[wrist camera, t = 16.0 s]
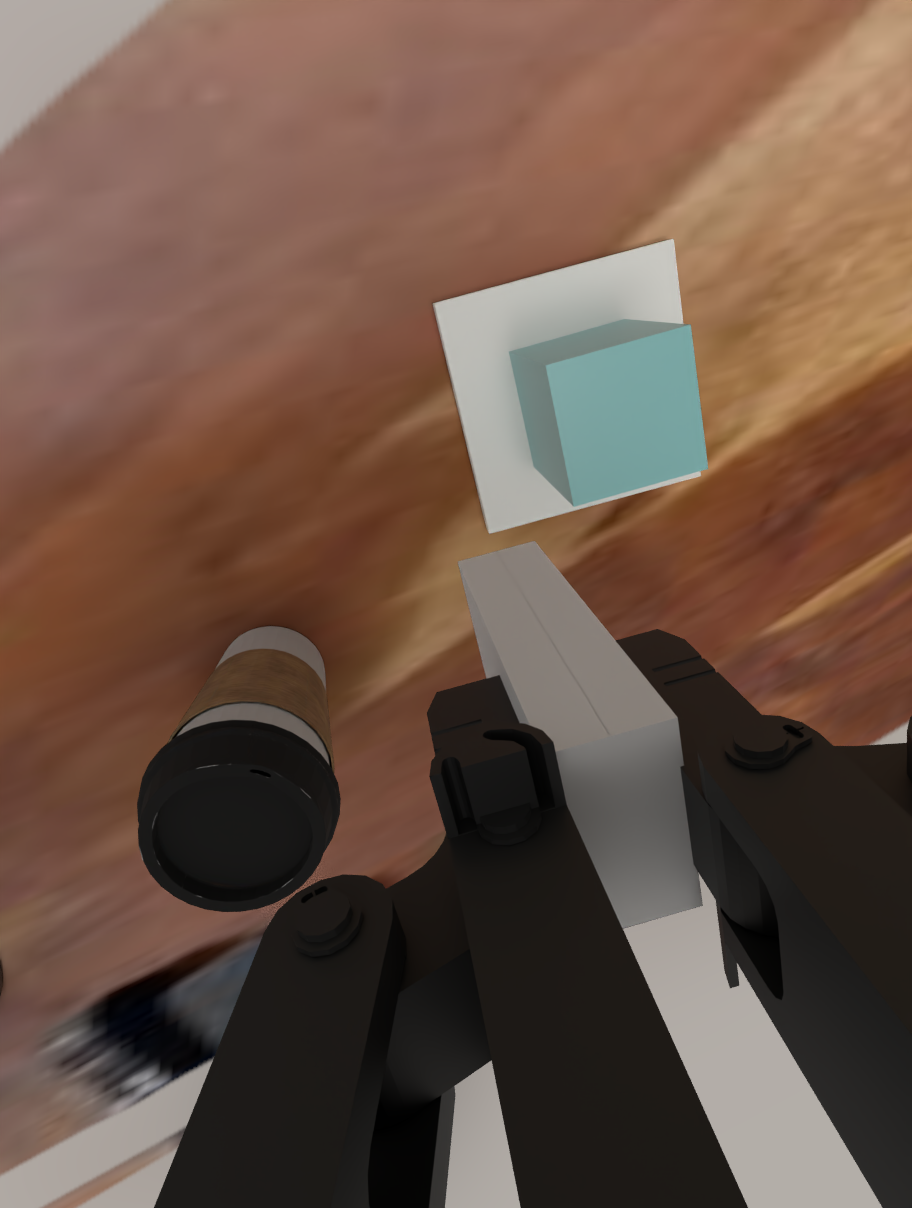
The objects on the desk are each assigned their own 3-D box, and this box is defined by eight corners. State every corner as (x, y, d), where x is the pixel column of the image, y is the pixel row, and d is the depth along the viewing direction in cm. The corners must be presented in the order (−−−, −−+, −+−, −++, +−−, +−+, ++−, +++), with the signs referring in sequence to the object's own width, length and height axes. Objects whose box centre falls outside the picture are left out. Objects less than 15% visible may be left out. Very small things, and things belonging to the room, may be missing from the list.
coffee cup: (367, 632, 43) (369, 790, 29) (318, 750, 46) (298, 945, 32) (223, 584, 41) (153, 728, 27) (180, 710, 44) (96, 900, 30)
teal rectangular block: (533, 466, 40) (574, 506, 32) (508, 351, 37) (545, 365, 30) (642, 436, 40) (708, 468, 32) (624, 318, 37) (690, 324, 30)
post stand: (486, 528, 42) (512, 578, 34) (432, 303, 37) (449, 304, 30) (693, 472, 42) (764, 509, 34) (665, 240, 37) (740, 225, 30)
